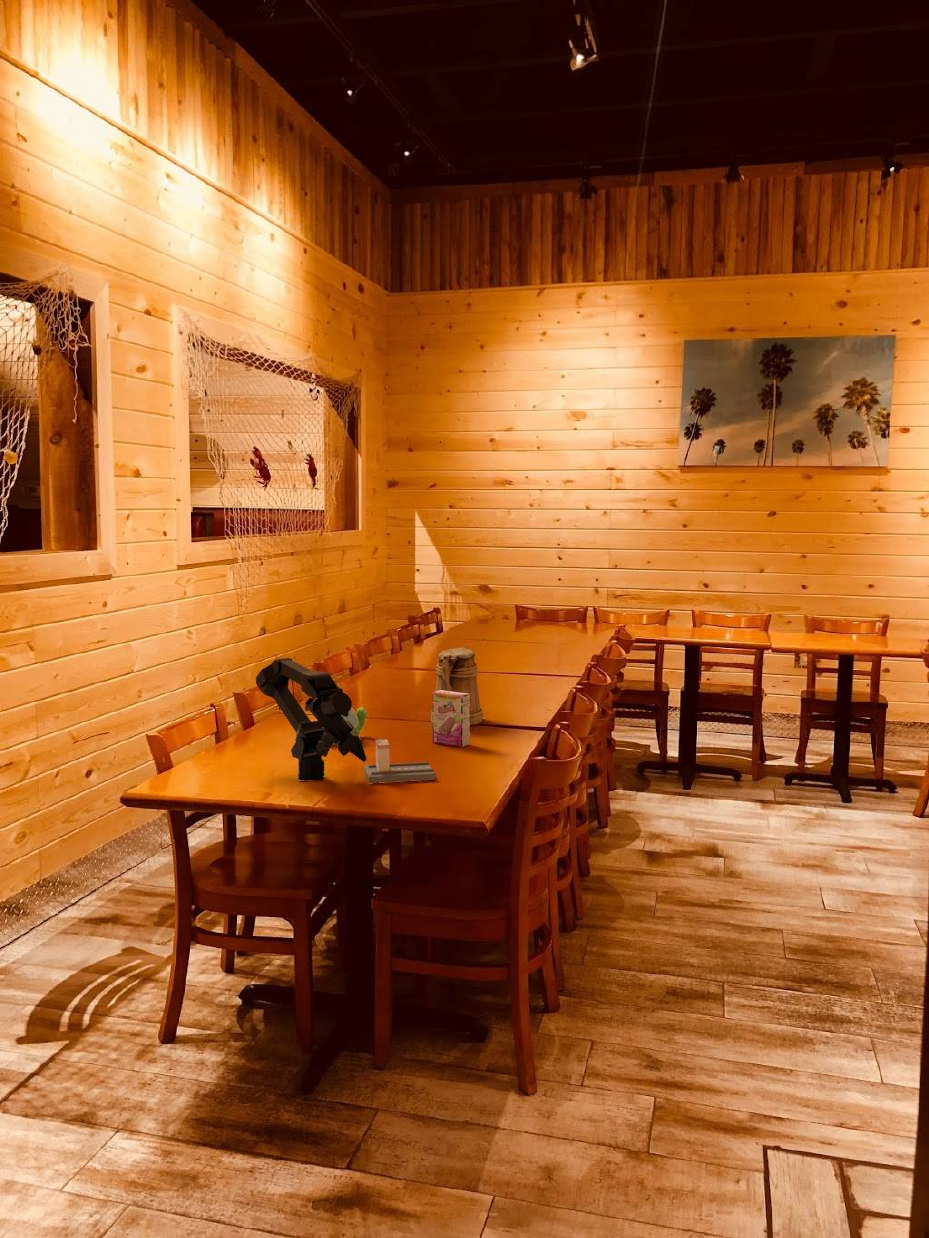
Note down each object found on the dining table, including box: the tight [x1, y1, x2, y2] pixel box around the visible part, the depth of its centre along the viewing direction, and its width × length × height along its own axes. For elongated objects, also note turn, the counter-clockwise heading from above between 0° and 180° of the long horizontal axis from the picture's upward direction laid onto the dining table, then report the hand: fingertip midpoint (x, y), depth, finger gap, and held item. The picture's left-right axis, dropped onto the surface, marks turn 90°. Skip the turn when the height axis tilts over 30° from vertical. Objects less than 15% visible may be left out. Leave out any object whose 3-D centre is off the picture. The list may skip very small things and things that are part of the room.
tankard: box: [430, 647, 484, 727], centre depth 334 cm, size 18×24×25 cm
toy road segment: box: [363, 761, 436, 783], centre depth 269 cm, size 18×12×3 cm, turn 102°
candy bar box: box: [432, 690, 471, 748], centre depth 305 cm, size 11×5×16 cm, turn 59°
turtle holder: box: [333, 706, 368, 746], centre depth 310 cm, size 12×18×12 cm
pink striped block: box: [375, 739, 391, 772], centre depth 268 cm, size 3×6×8 cm, turn 12°
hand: (365, 760), depth 264 cm, fingers closed
